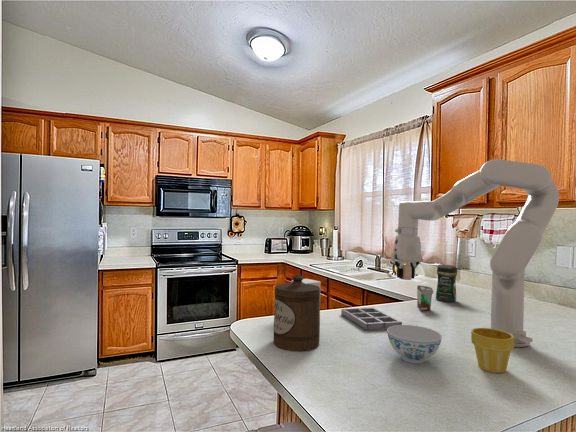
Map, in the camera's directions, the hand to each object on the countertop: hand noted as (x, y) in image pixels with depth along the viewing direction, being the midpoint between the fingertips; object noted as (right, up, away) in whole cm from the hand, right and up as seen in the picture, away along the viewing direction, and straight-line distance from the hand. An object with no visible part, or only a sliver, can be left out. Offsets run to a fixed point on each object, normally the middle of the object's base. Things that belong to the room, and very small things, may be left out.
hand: (405, 277), depth 142 cm
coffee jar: (+35, -20, +43) cm, 59 cm away
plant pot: (+9, -18, -43) cm, 48 cm away
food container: (+17, -19, +23) cm, 34 cm away
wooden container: (-44, -17, -27) cm, 55 cm away
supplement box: (-40, -17, +4) cm, 44 cm away
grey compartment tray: (-14, -18, 0) cm, 23 cm away
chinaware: (-10, -17, -38) cm, 43 cm away
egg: (0, -1, 0) cm, 1 cm away
